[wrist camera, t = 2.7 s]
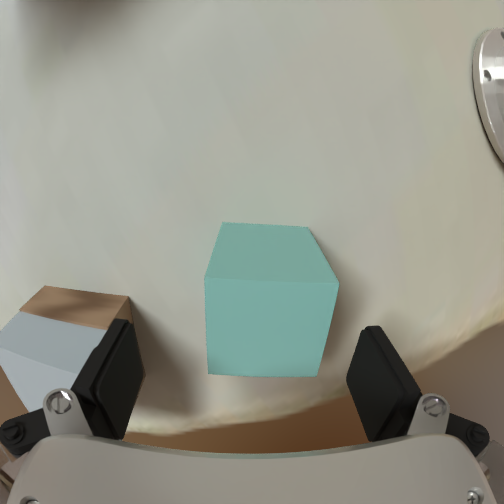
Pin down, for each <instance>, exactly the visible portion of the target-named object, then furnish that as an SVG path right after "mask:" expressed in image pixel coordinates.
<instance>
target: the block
mask: <svg viewBox="0 0 504 504" xmlns="http://www.w3.org/2000/svg"><path fill="white" fill-rule="evenodd" d="M204 280H205V317H206V341H207V361H208V374H216V375H231V376H253V377H316V376H317V373H318V369H319V366H320V362H321V359H322V355H323V351H324V348H325V344H326V340H327V336H328V332H329V328H330V324H331V320H332V316H333V311H334V307H335V302H336V298H337V293H338V289H339V284H340V283H339V282H338V280H337V278H336V276H335V274H334V273H333V271H332V269H331V267H330V265H329V264H328V262H327V260H326V258H325V256H324V255H323V253H322V251H321V249H320V248H319V246H318V244H317V242H316V241H315V239H314V237H313V236H312V234H311V232H310V230H309V229H308V227H298V226H282V225H265V224H247V223H226V222H222V225H221V228H220V231H219V234H218V237H217V240H216V243H215V246H214V249H213V252H212V256H211V259H210V262H209V265H208V268H207V271H206V274H205V278H204Z"/></svg>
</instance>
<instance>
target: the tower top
mask: <svg viewBox="0 0 504 504" xmlns="http://www.w3.org/2000/svg"><path fill="white" fill-rule="evenodd" d="M106 331H107V330H103V329H97V328H92V327H87V326H82V325H77V324H72V323H67V322H63V321H58V320H54V319H50V318H45V317H41V316H37V315H33V314H29V313H25V312H22V311H19V312H18V313H17V314H16V315H15V316H14V317H13V318H12V319H11V320H10V321H9V322H8V323H7V324H6V326H5V327H4V328H3V329H2V330H1V331H0V365H1V366H2V368H3V370H4V372H5V373H6V375H7V377H8V379H9V381H10V382H11V384H12V386H13V387H14V389H15V390H16V392H17V394H18V396H19V397H20V399H21V400H22V402H23V403H24V405H25V406H26V408H27V409H28V411H29V412H32V411H35V410H38V409H40V408H43V400H44V397H45V396H46V395H47V394H48V393H49V392H50V391H52V390H54V389H58V388H66V389H69V390H70V389H71V387H72V385H73V383H74V381H75V380H76V378H77V376H78V374H79V373H80V371H81V369H82V367H83V366H84V364H85V362H86V360H87V359H88V357H89V355H90V354H91V352H92V350H93V349H94V348H95V347H97V346H98V345H99V343H100V341H101V340H102V338H103V336H104V335H105V333H106ZM119 441H122V440H121V439H119Z"/></svg>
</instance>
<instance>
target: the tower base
mask: <svg viewBox="0 0 504 504" xmlns="http://www.w3.org/2000/svg"><path fill="white" fill-rule="evenodd" d="M19 310H20V311H22V312H25V313H29V314H33V315H37V316H41V317H45V318H50V319H54V320H58V321H63V322H67V323H72V324H77V325H82V326H87V327H92V328H97V329H103V330H108V328H109V326H110V325H111V323H112V322H113V320H114V319H115V318H118V319H127V320H129V322H130V323H131V324H133V319H132V313H131V308H130V302H129V297H128V296H121V295H112V294H104V293H95V292H87V291H80V290H72V289H65V288H58V287H51V286H44V287H43V288H42V289H41V290H39V291H38V292H37V293H36V294H35V295H34V296H33V297H32V298H31V299H30V300H29V301H28V302H27V303H26V304H25V305H23V306H22V307H21V308H20V309H19ZM133 325H134V324H133ZM134 330H135V329H134ZM135 335H136V333H135ZM136 340H137V338H136ZM137 345H138V342H137ZM138 349H139V347H138ZM139 354H140V351H139ZM140 358H141V355H140ZM141 362H142V360H141ZM142 367H143V364H142ZM143 371H144V368H143ZM144 378H145V372H144V376H143V380H142V383H143V381H144ZM142 383H141V386H142ZM141 386H140V389H141ZM140 389H139V391H140ZM138 394H139V392H138ZM137 397H138V395H137ZM136 399H137V398H136ZM135 402H136V401H135ZM134 405H135V404H134ZM133 408H134V407H133Z"/></svg>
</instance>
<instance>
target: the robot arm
mask: <svg viewBox="0 0 504 504" xmlns="http://www.w3.org/2000/svg"><path fill="white" fill-rule="evenodd" d="M473 81H474V89H475V95H476V99H477V104H478V109H479V112H480V115H481V118H482V122H483V125H484V128H485V130H486V133H487V135H488V138H489V140H490V142H491V144H492V146H493V148H494V150H495V152H496V153H497V155H498V156H499V158H500V159H501V161H502V162H503V163H504V28H494V29H490V30H487V31H486V32H484V33H482V34H481V36H480V37H479V39H478V40H477V42H476V45H475V48H474V54H473ZM143 376H144V371H143V367H142V362H141V358H140V354H139V349H138V345H137V340H136V335H135V330H134V325H133V324H131V323H130V322H129V320H127V319H118V318H115V319H114V320H113V322H112V323H111V325H110V326H109V328H108V330H107V331H106V333H105V335H104V336H103V338H102V340H101V341H100V343H99V345H98V346H97V347H95V348H94V349H93V350H92V352H91V354H90V355H89V357H88V359H87V360H86V362H85V364H84V366H83V367H82V369H81V371H80V373H79V374H78V376H77V378H76V380H75V381H74V383H73V385H72V387H71V389H70V390H69V389H66V388H58V389H54V390H52V391H50V392H49V393H48V394H47V395H46V396H45V397H44V400H43V408H40V409H38V410H35V411H32V412H29V413H27V414H24V415H21V416H18V417H15V418H12V419H9V420H7V421H5V422H4V423H3V424H2V425H1V427H0V504H504V447H503V446H502V445H500V444H499V443H498V442H496V441H495V440H492V441H489V433H488V431H487V430H486V428H484V427H483V426H482V425H480V424H477V423H475V422H472V421H470V420H467V419H464V418H462V417H459V416H456V415H454V414H451V413H450V406H449V403H448V402H447V400H446V399H445V398H443V397H442V396H440V395H438V394H434V393H428V394H425V395H422V393H421V392H420V391H421V390H420V388H419V387H418V385H417V383H416V382H415V380H414V379H413V377H412V375H411V374H410V372H409V370H408V369H407V367H406V366H405V364H404V362H403V361H402V359H401V358H400V356H399V354H398V353H397V351H396V350H395V348H394V347H393V345H392V344H391V342H390V340H389V339H388V337H387V336H386V334H385V333H384V331H383V330H382V328H381V327H380V326H367V327H366V328H365V329H364V330H362V331H361V333H360V336H359V340H358V343H357V346H356V349H355V352H354V355H353V358H352V361H351V364H350V367H349V370H348V373H347V376H346V381H347V385H348V387H349V390H350V392H351V395H352V397H353V400H354V403H355V406H356V408H357V411H358V414H359V416H360V419H361V422H362V424H363V427H364V430H365V433H366V435H367V438H368V440H369V441H370V442H371V441H372V442H371V443H365V444H360V445H353V446H347V447H341V448H333V449H325V450H316V451H307V452H293V453H275V454H227V453H226V454H225V453H207V452H194V451H184V450H175V449H167V448H160V447H154V446H147V445H141V444H135V443H129V442H124V441H119V439H121V440H122V439H123V438H124V435H125V432H126V429H127V425H128V422H129V419H130V416H131V413H132V410H133V407H134V404H135V401H136V398H137V395H138V392H139V389H140V386H141V383H142V380H143Z"/></svg>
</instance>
